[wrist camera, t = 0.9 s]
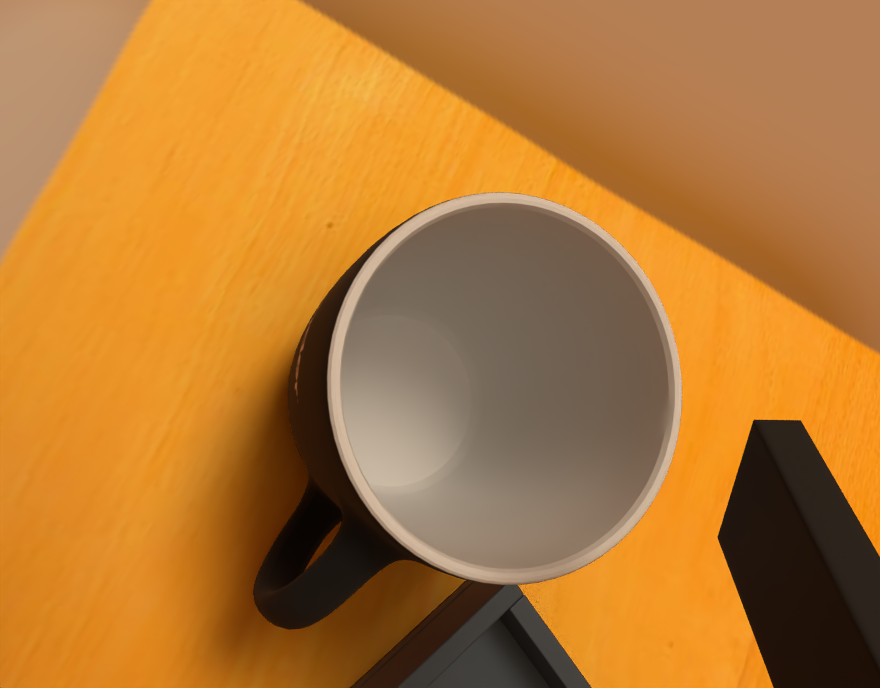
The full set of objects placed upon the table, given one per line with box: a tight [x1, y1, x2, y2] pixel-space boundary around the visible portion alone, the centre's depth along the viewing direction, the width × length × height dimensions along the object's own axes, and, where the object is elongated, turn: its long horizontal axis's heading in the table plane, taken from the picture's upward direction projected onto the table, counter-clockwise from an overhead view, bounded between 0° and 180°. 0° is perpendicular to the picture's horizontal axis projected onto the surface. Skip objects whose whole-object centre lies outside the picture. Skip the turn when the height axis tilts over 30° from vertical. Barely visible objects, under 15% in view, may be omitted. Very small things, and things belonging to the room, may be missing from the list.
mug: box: [253, 192, 682, 630], centre depth 22 cm, size 12×9×10 cm
